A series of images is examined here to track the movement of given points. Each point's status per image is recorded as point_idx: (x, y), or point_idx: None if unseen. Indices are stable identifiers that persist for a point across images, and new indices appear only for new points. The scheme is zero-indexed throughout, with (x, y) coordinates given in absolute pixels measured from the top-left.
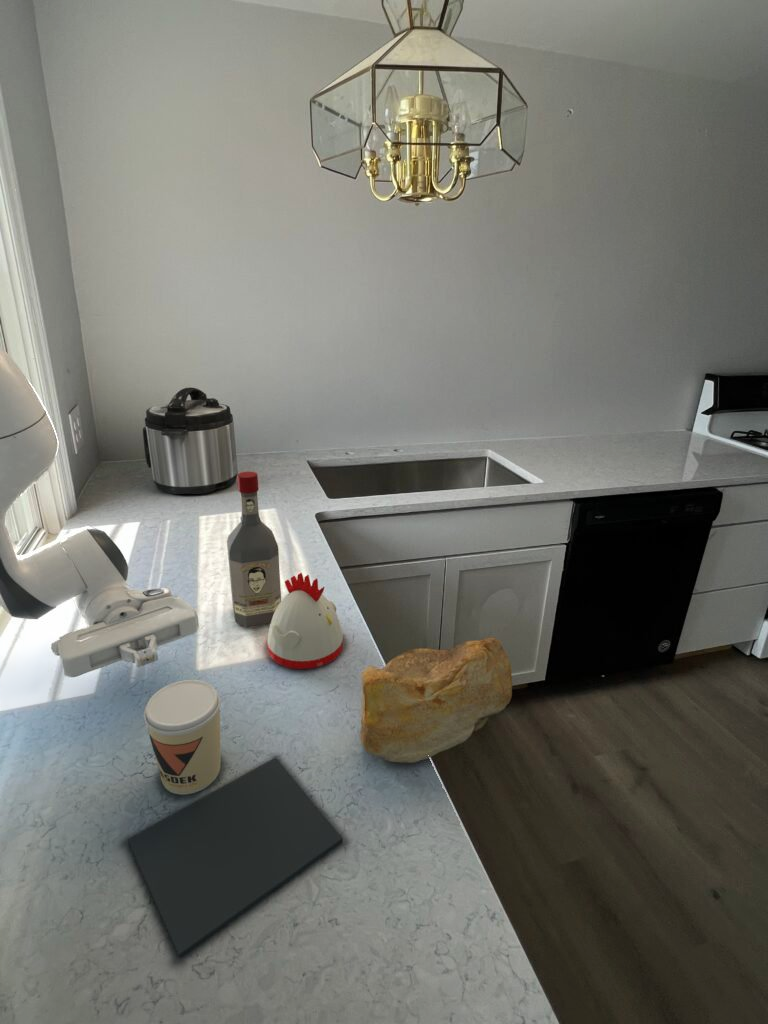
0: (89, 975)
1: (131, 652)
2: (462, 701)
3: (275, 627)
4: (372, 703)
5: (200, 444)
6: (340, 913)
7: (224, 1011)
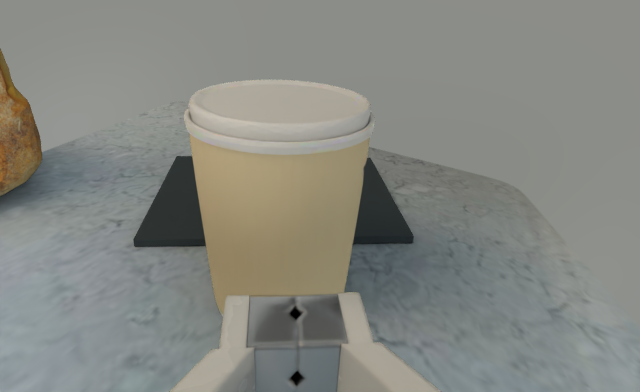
0: (448, 178)
1: (383, 350)
2: None
3: None
4: (5, 63)
5: None
6: None
7: None
